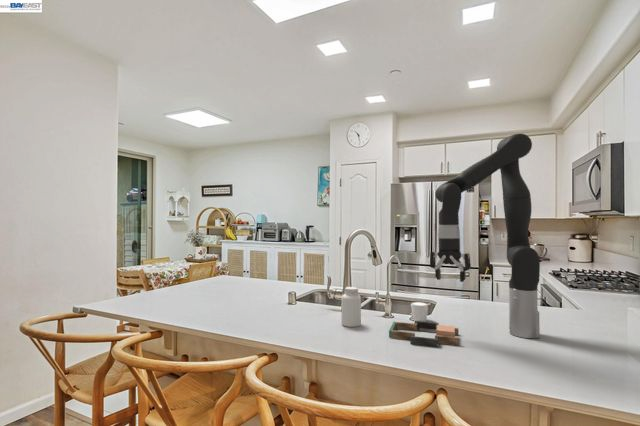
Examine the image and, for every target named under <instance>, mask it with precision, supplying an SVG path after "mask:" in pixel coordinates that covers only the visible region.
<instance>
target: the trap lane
mask: <svg viewBox="0 0 640 426" xmlns="http://www.w3.org/2000/svg"><path fill="white" fill-rule="evenodd" d="M437 325H440V323H439V322H432V321H431V322H430V321H425V322H423V321H414V323H413V322H412V323H411V322H402V321H392V324H391V326H390V327H389V330H388V338H390V339H399V340H407V341H410V345H415V346H416V345H417V346H423V347H432V348H439V344H442V345H449V346H459V347H460V346H461V342H460V341H461V339H460V337H459V327H455V337H450V336H441V335H436V330H437ZM401 330H402V331H401ZM403 330H404V331H403ZM412 331H413V332H412ZM415 332H420V333H430V334H431V333H432V334H435V335H434V338H431V337H424V336H416V334H415Z"/></svg>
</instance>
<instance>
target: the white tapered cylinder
mask: <svg viewBox="0 0 640 426" xmlns="http://www.w3.org/2000/svg"><path fill="white" fill-rule="evenodd" d="M410 306H411V316H413V317H412V321H413V320H414V322H415V321H423V322H427V320H428V319H427V318H428V317H427V316H428V306H429V305H428V303H427V302H421V301H413V302H411V304H410Z"/></svg>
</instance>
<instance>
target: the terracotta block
mask: <svg viewBox="0 0 640 426" xmlns="http://www.w3.org/2000/svg"><path fill="white" fill-rule="evenodd" d="M455 328H456V326H455V325H446V324H439V325H437V330H436V333H435V335H441V336H450V337H456V335H455Z"/></svg>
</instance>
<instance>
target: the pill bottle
mask: <svg viewBox="0 0 640 426" xmlns="http://www.w3.org/2000/svg"><path fill="white" fill-rule="evenodd" d="M358 292H359V288H358V287H355V286H346V287H345V288H344V294H343V295H341V324H342V326H344V327H347V328H348V327H349V328H357V327H360V326H361V324H362V323H361V322H362V298H361V295H360V294H359V293H358Z"/></svg>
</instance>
